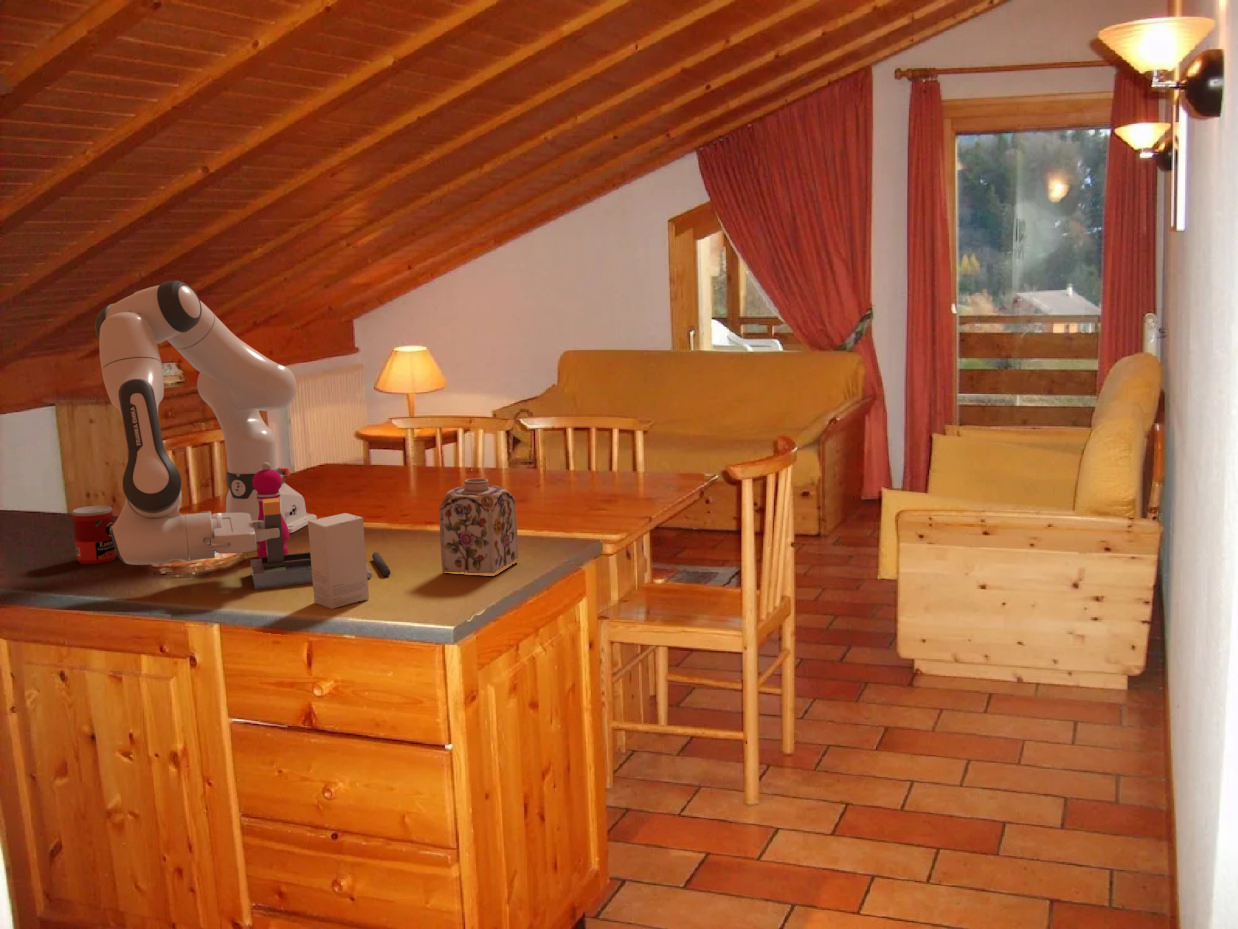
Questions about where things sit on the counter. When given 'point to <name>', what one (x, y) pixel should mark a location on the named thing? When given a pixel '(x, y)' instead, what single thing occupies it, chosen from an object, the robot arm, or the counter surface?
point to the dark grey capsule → (379, 565)
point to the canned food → (93, 534)
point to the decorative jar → (478, 528)
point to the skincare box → (338, 560)
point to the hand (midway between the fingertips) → (278, 528)
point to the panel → (282, 571)
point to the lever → (271, 520)
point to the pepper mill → (268, 488)
